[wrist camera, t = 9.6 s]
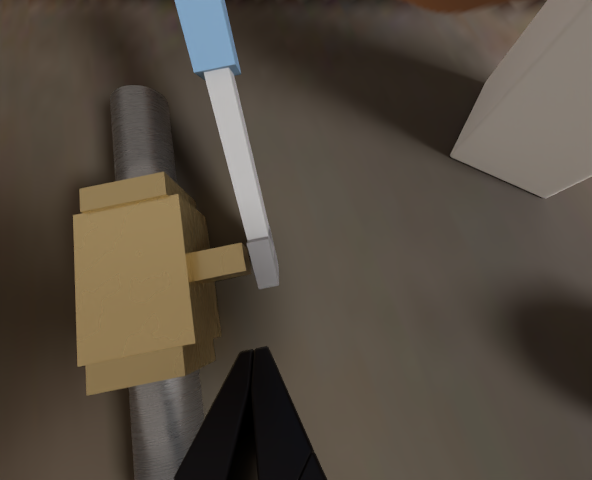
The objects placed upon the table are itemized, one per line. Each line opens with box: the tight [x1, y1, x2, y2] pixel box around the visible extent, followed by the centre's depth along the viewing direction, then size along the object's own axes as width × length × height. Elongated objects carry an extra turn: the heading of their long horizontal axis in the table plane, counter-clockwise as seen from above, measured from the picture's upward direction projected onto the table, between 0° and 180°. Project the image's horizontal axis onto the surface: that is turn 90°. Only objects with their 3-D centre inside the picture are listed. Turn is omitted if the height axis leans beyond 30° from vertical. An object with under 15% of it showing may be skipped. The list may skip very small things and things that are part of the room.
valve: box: [73, 85, 251, 480], centre depth 16 cm, size 22×8×4 cm, turn 11°
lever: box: [175, 0, 279, 289], centre depth 13 cm, size 3×3×18 cm
